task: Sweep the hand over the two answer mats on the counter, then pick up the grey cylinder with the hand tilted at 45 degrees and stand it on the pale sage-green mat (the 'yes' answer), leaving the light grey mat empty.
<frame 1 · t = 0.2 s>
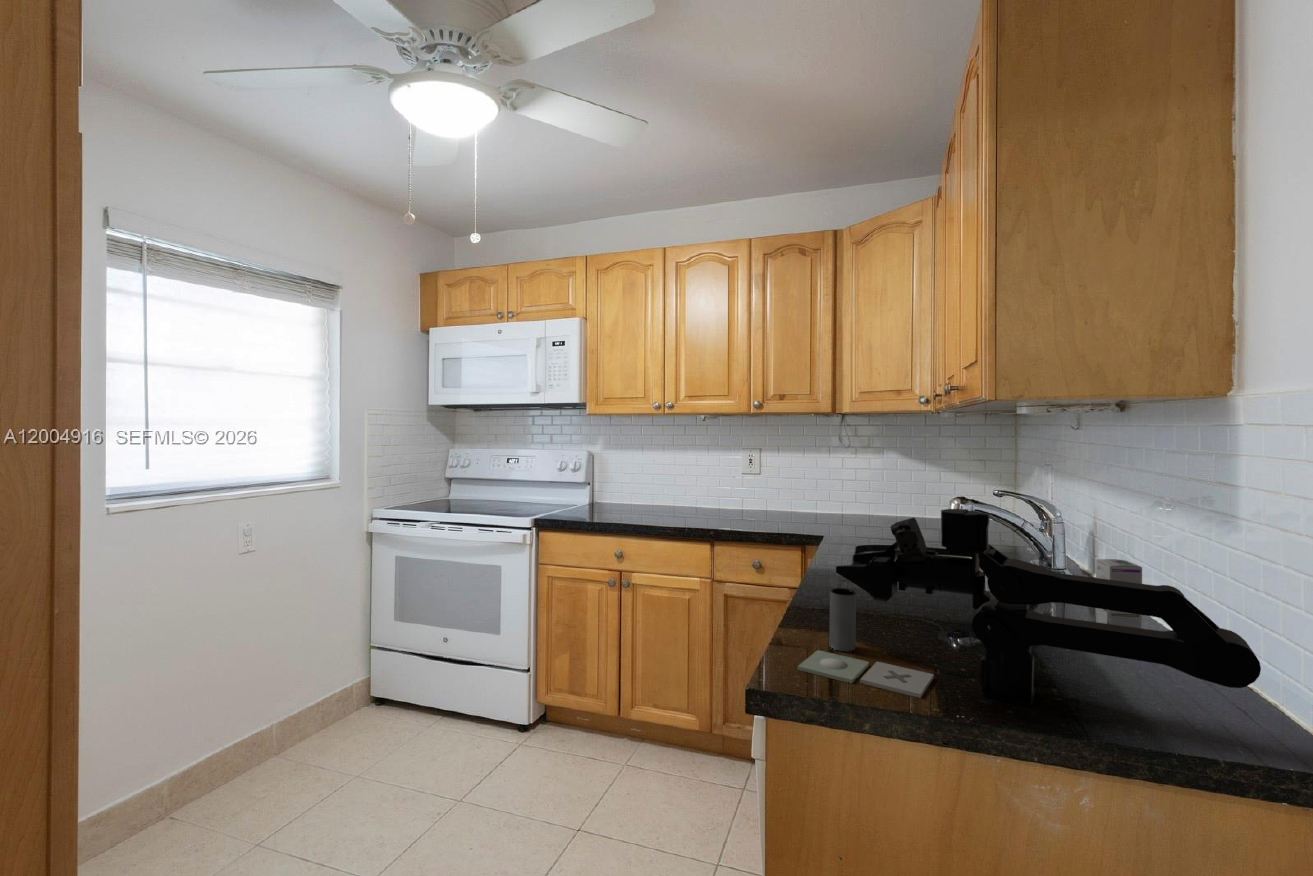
hand: (845, 563, 110), 16 cm above the counter, tool horizontal, fingers open, 9 cm apart
grey cylinder: (842, 648, 114), on the counter
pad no: (897, 680, 100), on the counter
syrup box: (1116, 637, 122), on the counter
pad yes: (833, 667, 105), on the counter
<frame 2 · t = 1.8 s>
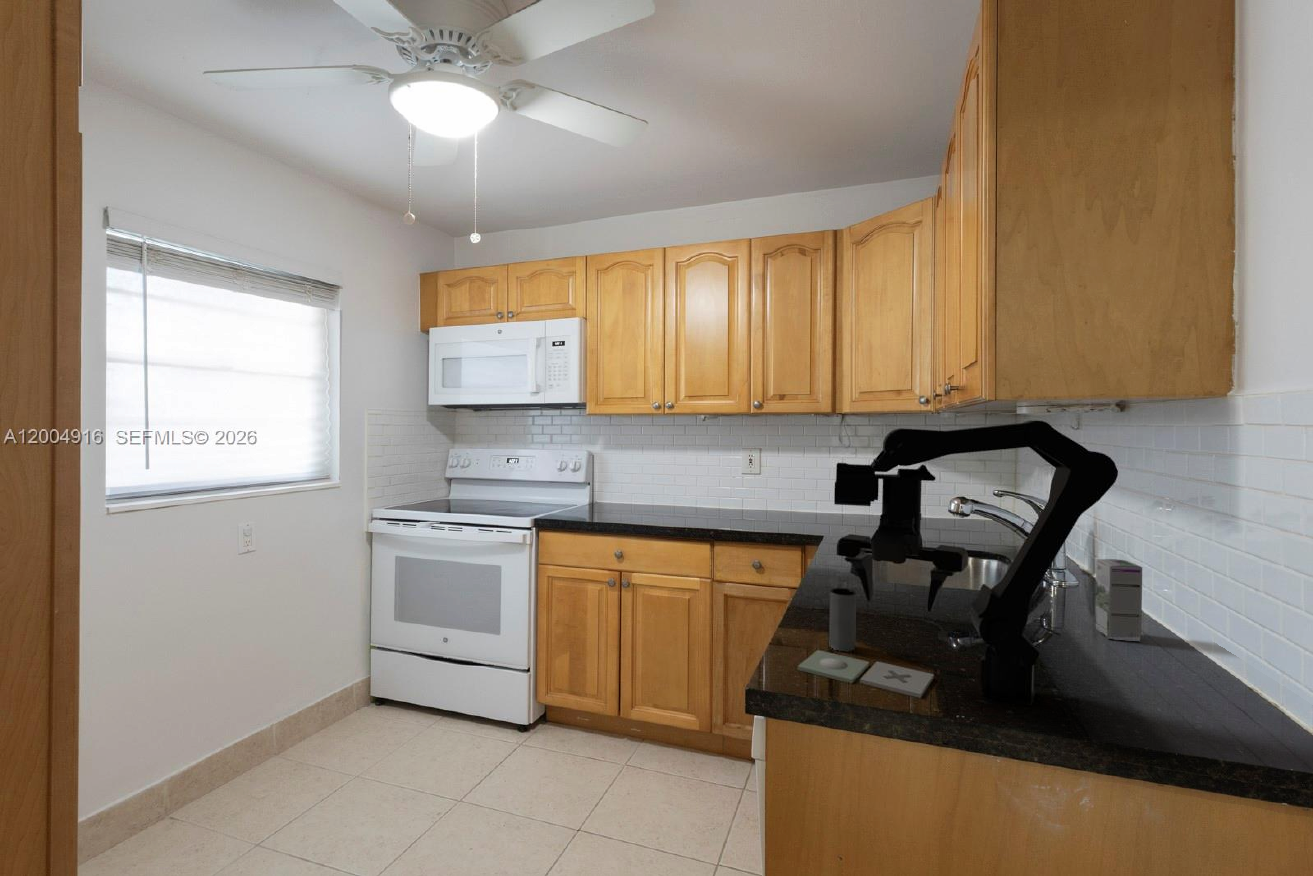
hand: (898, 605, 100), 12 cm above the counter, tool pointing down, fingers open, 9 cm apart
nothing on the counter moved.
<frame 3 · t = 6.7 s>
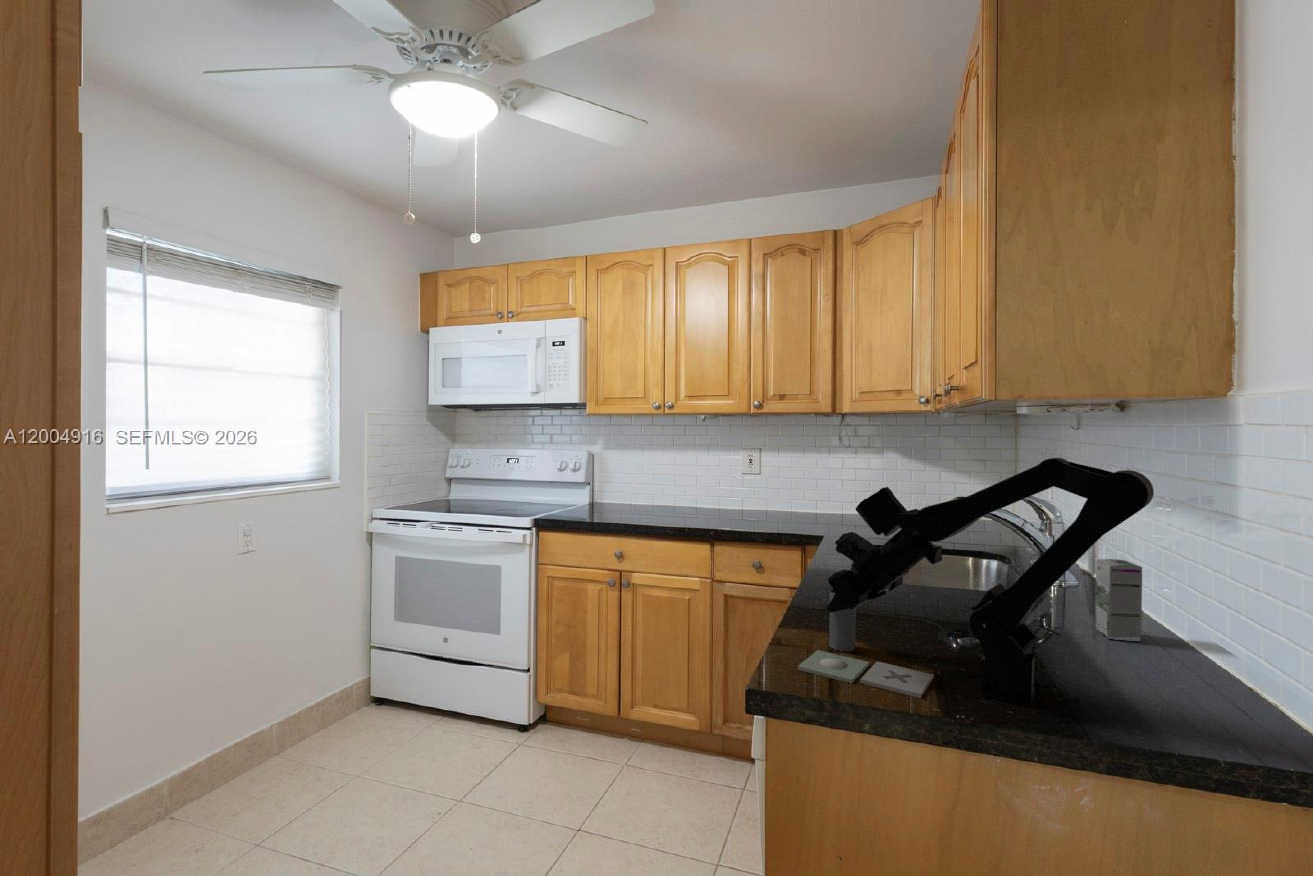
hand: (835, 607, 115), 7 cm above the counter, tool tilted 45°, fingers closed on grey cylinder, 5 cm apart
grey cylinder: (842, 648, 114), on the counter, touching gripper
everything else where it was.
when the fingers open (8 cm above the counter, at t = 9.9 s): grey cylinder stays where it is, resting on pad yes.
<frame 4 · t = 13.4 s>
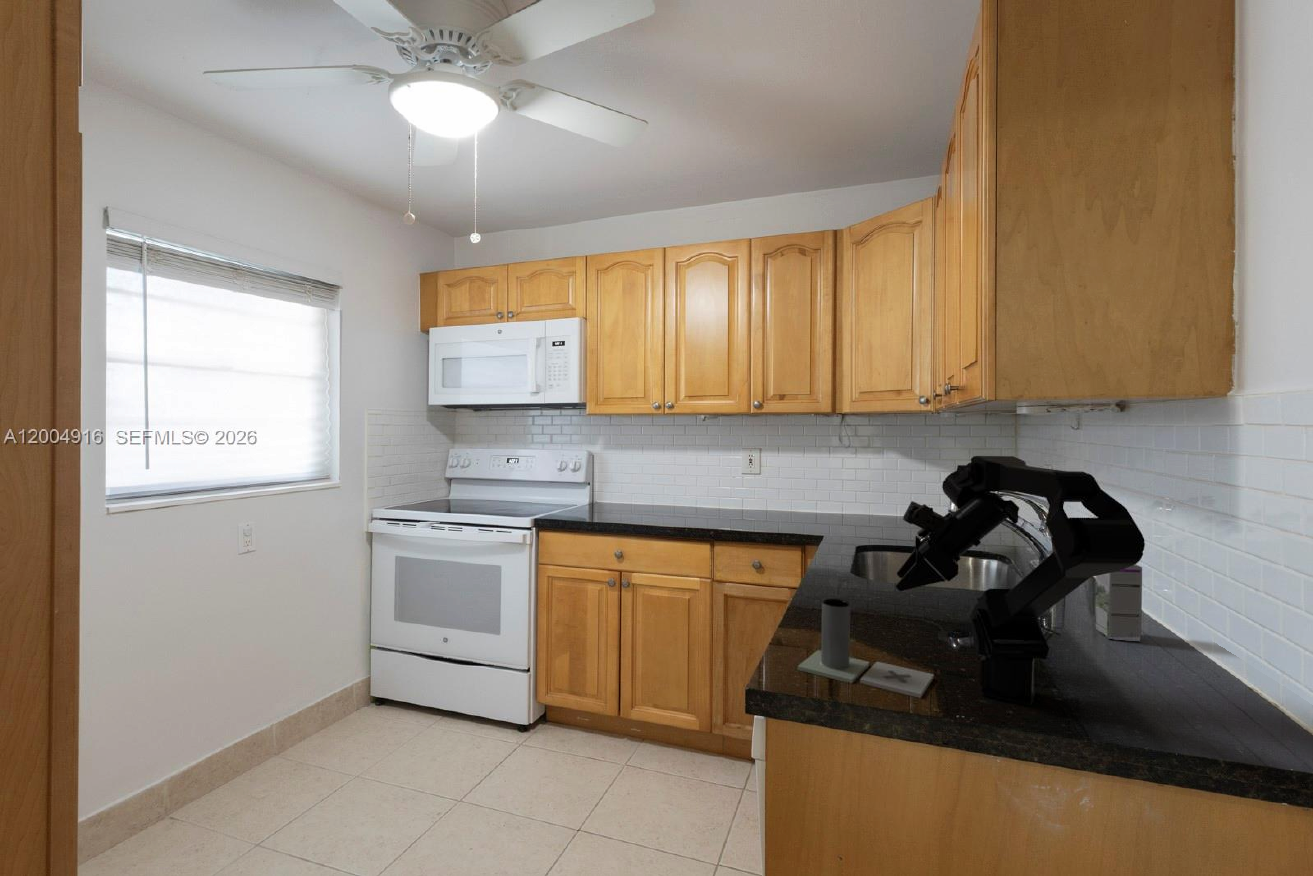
hand: (898, 582, 108), 14 cm above the counter, tool tilted 45°, fingers open, 9 cm apart
grey cylinder: (835, 664, 105), point 1 cm above the counter, touching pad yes
everything else where it was.
at the end: grey cylinder inside the target area on the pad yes (0.2 cm from its centre), point 0.5 cm above the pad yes's base; grey cylinder tilted 0°; the gripper is holding nothing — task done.
